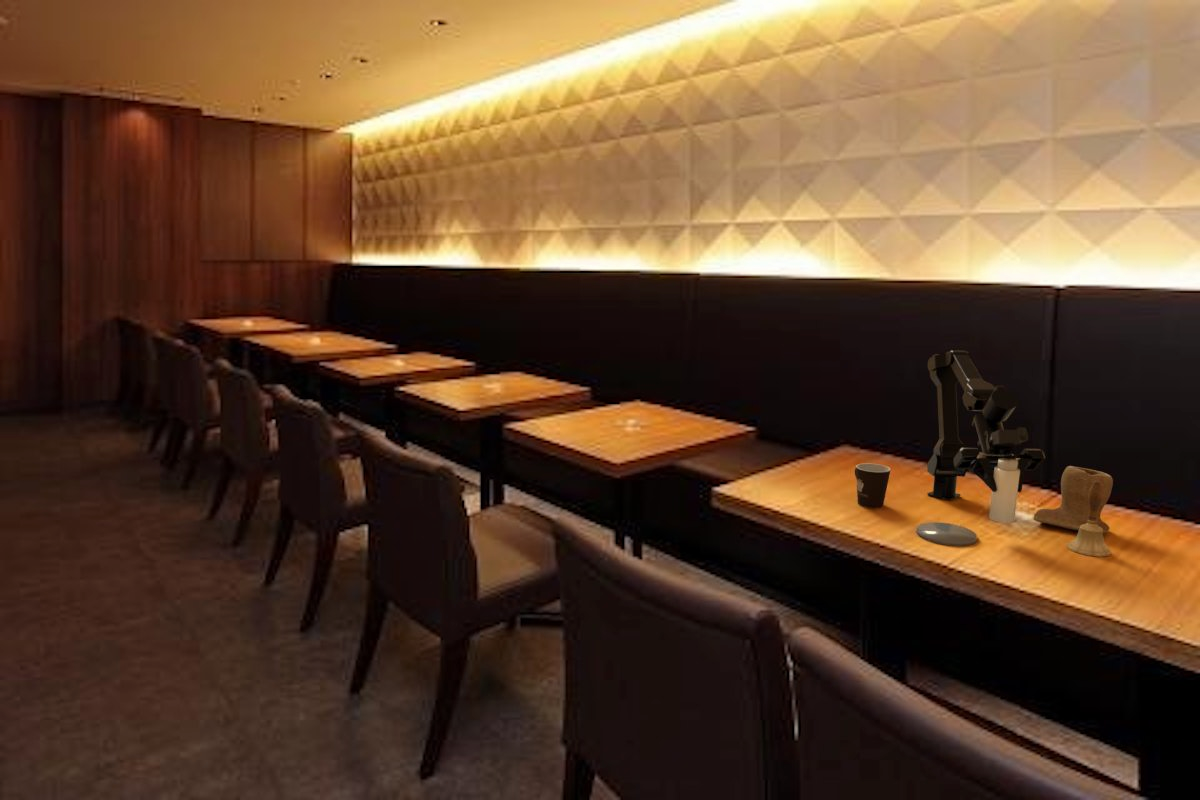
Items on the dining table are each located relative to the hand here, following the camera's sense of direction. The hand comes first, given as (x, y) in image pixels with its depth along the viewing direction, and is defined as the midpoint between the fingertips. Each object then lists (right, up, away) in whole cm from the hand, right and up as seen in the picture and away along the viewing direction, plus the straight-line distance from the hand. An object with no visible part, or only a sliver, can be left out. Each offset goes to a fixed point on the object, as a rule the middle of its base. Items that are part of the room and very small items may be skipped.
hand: (1007, 491), depth 178 cm
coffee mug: (-21, -7, +31) cm, 38 cm away
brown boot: (+23, -10, +13) cm, 28 cm away
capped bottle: (0, -7, +3) cm, 7 cm away
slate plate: (-11, -11, +6) cm, 17 cm away
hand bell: (+17, -13, -2) cm, 22 cm away
